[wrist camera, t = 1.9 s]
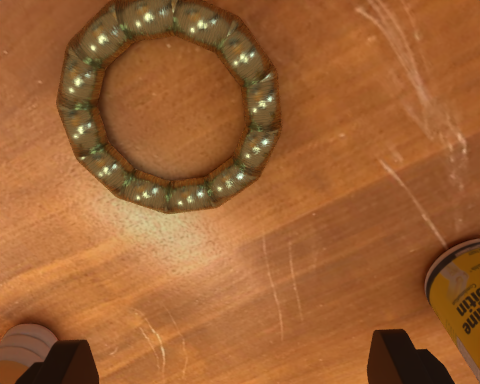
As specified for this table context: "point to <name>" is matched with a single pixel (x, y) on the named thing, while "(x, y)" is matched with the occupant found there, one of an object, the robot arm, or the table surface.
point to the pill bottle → (458, 298)
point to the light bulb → (23, 350)
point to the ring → (195, 31)
